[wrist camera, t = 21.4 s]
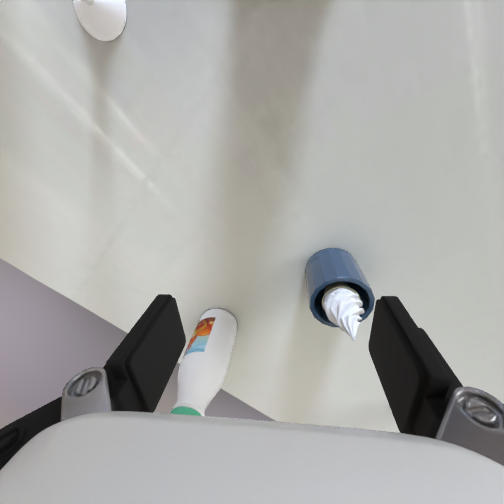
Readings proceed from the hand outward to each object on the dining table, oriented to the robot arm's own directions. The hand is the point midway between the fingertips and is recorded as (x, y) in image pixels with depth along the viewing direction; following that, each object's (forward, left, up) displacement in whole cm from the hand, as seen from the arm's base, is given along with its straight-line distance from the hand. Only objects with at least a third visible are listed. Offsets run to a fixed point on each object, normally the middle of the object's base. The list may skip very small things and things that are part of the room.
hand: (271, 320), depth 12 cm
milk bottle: (+26, -13, -28) cm, 41 cm away
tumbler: (+14, +8, -28) cm, 33 cm away
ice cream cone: (+14, +8, -28) cm, 32 cm away
